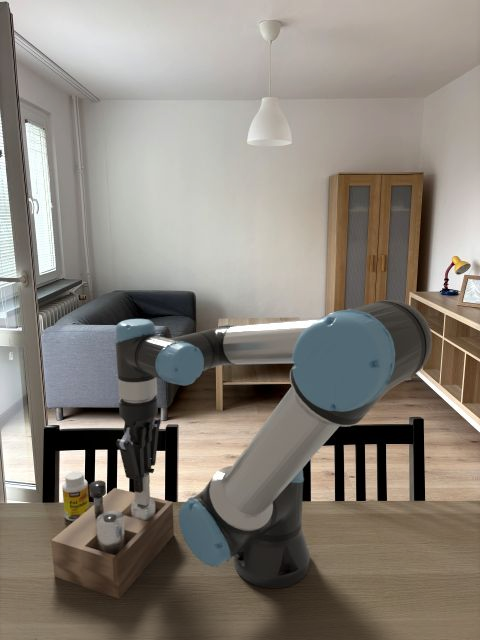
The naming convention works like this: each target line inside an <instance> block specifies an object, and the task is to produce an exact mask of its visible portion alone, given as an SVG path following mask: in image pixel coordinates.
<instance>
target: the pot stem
mask: <svg viewBox="0 0 480 640" xmlns="http://www.w3.org/2000/svg"><path fill="white" fill-rule="evenodd" d="M88 490H89V497H91V498H92V499H93V505H94V510H95V517H96V518H97V517H98V516H99V515H101V514H102V513H104V507H103V497H104V496H105V495H107V484H106V481H104V480H95V481H92V482H91V483H90V484H88Z"/></svg>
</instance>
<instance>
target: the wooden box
mask: <svg viewBox="0 0 480 640" xmlns="http://www.w3.org/2000/svg"><path fill="white" fill-rule="evenodd" d="M150 499H152V500H154V501H155V511H156V515H155V516H154V517H153V518H152V519H151V520H150V521H149V522H147V521H143V520H140V519H136V518H132V516H131V504H132V503H133V502H134V501H135V492H133V491H130V490H129V491H128V490H124V489H120V488H117V487H114V488H113V489H112V490H110V491H109V492H108V493H106V494H105V495H104V496H103V507H104V513H105V512H108V511H118V512H121V513H122V514H123V515H124V531H125V547H124V548H123V549H122V550H121V551H120V552H119V553H118V554H117V555H116V556H115V555H112V554H109V553H106V552H102V551H99V550H98V537H97V522H96V520H97V518H96V517H95V510H94V504H93V505H92V506H91V507H89V509H88V510H87V511H86V512H85V513H84V514H82V515H81V516H80V517H79V518H78V519H76V520H75V521H72V523H70V524H69V525H68V526H67V527H65V528H64V529H63V530H62V531H61V532H59V533H58V534H57V535H56V536H54V537H53V538H52V539H51V540H50V541H51V552H52V553H51V554H52V562H53V563H52V564H53V565H52V566H53V575H54V578H58V579H60V580H63V581H66V582H68V583H72V584H75V585H78V586H80V587H83V588H86V589H90V590H93V591H95V592H98V593H101V594H103V595H106V596H107V595H108V596H111V597H113V598H116V599H121V598H122V596H124V594H125V593H126V592H127V590H129V588H130V587H131V586H132V585H133V583H134V582H135V581H136V580H137V579H138V578H139V577H140V576H141V574H142V573H143V572H144V571H145V569H147V568H148V566H149V565H150V564H151V563H152V562H153V560H154V559H155V558H156V557H157V556H158V554H159V553H160V552H161V551H162V550H163V548H165V547H166V545H167V544H168V543H169V542H170V540H171V539H172V538H173V536H174V535H175V534H174V532H175V531H174V530H175V529H174V527H175V526H174V502H173V501H169V500H166V499H161V498H158V497H153V496H150Z"/></svg>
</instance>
